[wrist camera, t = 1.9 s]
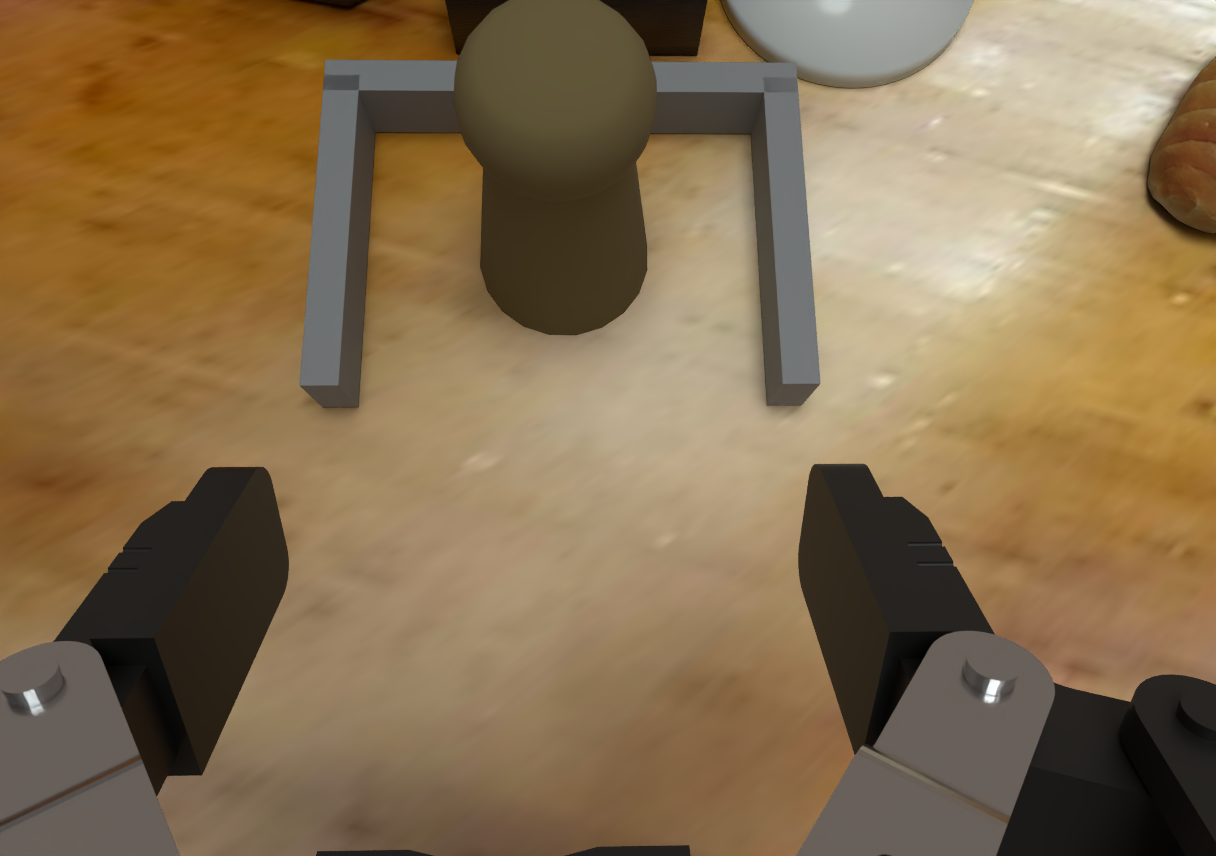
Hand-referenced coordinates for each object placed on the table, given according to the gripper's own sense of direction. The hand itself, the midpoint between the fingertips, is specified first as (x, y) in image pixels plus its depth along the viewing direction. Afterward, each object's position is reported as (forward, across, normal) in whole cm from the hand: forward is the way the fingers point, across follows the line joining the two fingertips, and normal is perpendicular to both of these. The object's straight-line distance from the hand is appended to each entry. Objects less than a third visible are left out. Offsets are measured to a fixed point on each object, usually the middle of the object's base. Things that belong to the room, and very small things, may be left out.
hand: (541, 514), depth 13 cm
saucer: (+28, -11, -6) cm, 31 cm away
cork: (+20, 0, +3) cm, 20 cm away
